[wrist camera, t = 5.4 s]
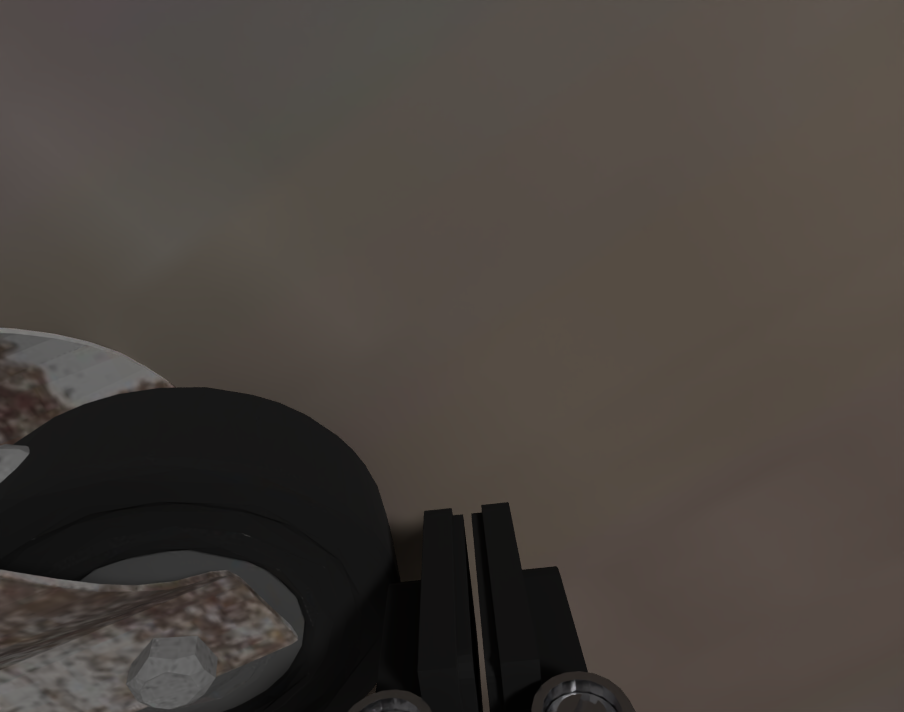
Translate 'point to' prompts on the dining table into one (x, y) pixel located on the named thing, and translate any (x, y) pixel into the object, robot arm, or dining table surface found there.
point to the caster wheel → (178, 544)
